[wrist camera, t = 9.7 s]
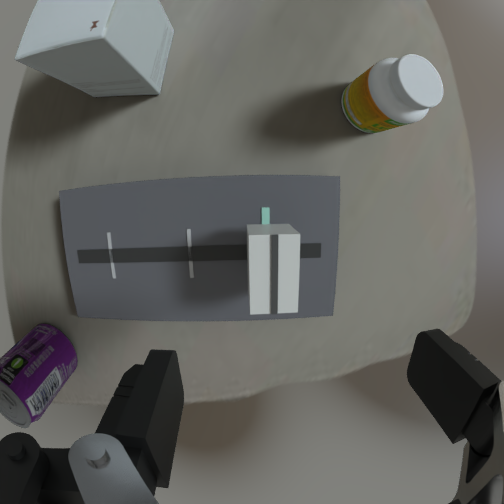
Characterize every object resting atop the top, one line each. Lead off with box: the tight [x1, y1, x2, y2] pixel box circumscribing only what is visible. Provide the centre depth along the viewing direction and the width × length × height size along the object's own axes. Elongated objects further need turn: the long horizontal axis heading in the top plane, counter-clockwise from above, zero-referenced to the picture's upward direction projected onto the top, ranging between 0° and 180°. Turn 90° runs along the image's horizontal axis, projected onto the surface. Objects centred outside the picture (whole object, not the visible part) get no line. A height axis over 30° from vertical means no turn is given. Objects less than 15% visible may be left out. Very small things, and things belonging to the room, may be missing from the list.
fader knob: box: [247, 224, 300, 315], centre depth 20 cm, size 5×3×6 cm, turn 1°
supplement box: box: [15, 0, 174, 97], centre depth 15 cm, size 7×7×13 cm
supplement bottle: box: [341, 54, 443, 133], centre depth 19 cm, size 5×5×10 cm
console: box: [59, 175, 340, 321], centre depth 24 cm, size 12×24×3 cm, turn 91°
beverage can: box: [0, 324, 77, 428], centre depth 22 cm, size 7×7×12 cm
